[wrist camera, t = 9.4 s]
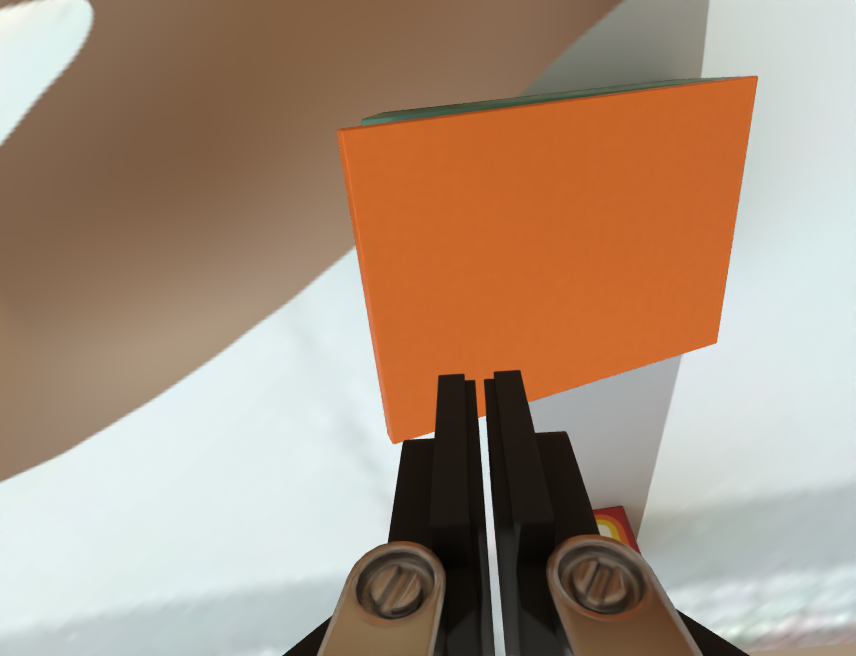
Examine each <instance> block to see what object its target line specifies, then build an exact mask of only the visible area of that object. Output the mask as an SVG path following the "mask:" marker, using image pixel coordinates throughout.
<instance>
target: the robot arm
mask: <svg viewBox="0 0 856 656" xmlns="http://www.w3.org/2000/svg"><path fill="white" fill-rule="evenodd" d="M484 392H485V407H486V422H487V437H488V452H489V467H490V482H491V495H492V506H493V517H494V529H495V540H496V551H497V563H498V574H499V585H500V597H501V608H502V619H503V631H504V642H505V653H506V656H749V655H748V654H746V653H745V652H743V651H742V650H740V649H738V648H737V647H735V646H734V645H732V644H731V643H729V642H727V641H726V640H724V639H723V638H721V637H719V636H718V635H716V634H715V633H713V632H712V631H710V630H708V629H707V628H705V627H704V626H702V625H701V624H699V623H697V622H696V621H694V620H693V619H691V618H690V617H688V616H686V615H685V614H683V613H682V612H680V611H678V610H677V609H675V607H674V606H673V604H672V602H671V601H670V599H669V597H668V595H667V594H666V592H665V590H664V589H663V587H662V585H661V584H660V582H659V580H658V579H657V577H656V575H655V574H654V572H653V570H652V569H651V567H650V566H649V565H648V563H647V562H646V561H645V560H644V558H643V557H642V556H641V555H640V554H639V553H638V552H636V551H635V550H634V549H632V548H631V547H630V546H628V545H627V544H625V543H622V542H620V541H618V540H616V539H614V538H611V537H606V536H601V535H600V532H599V529H598V526H597V522H596V519H595V516H594V513H593V510H592V507H591V504H590V501H589V498H588V495H587V492H586V489H585V486H584V483H583V479H582V476H581V473H580V470H579V467H578V464H577V461H576V458H575V455H574V452H573V449H572V446H571V443H570V439H569V437H568V434H567V433H566V432H565V431H562V432H543V433H535V431H534V427H533V423H532V418H531V414H530V410H529V405H528V401H527V397H526V392H525V388H524V384H523V379H522V375H521V371H520V370H509V371H494V379H484ZM283 656H495V647H494V633H493V619H492V604H491V590H490V575H489V561H488V547H487V532H486V518H485V504H484V489H483V476H482V463H481V449H480V436H479V422H478V409H477V396H476V382H475V380H465V374H464V373H463V374H448V375H438V389H437V405H436V422H435V438H431V439H412V440H404V442H403V445H402V451H401V458H400V464H399V471H398V478H397V484H396V491H395V498H394V504H393V511H392V518H391V524H390V531H389V538H388V543H387V544H383V545H380V546H377V547H376V548H374V549H372V550H371V551H369V552H367V553H366V554H365V555H364V556H363V557H362V558H361V559H360V560H359V561H357V562H356V563H355V565H354V567H353V568H352V570H351V572H350V574H349V575H348V577H347V580H346V582H345V585H344V587H343V590H342V593H341V595H340V598H339V600H338V603H337V605H336V608H335V611H334V613H333V615H332V616H331V617H330V618H329V619H327V620H326V621H325V622H324V623H322V624H321V625H320V626H319V627H317V628H316V629H315V630H314V631H312V632H311V633H310V634H309V635H307V636H306V637H305V638H304V639H302V640H301V641H300V642H299V643H297V644H296V645H295V646H294V647H293V648H291V649H290V650H289V651H288V652H286V653H285V654H284V655H283Z"/></svg>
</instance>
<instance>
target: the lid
mask: <svg viewBox="0 0 856 656" xmlns="http://www.w3.org/2000/svg"><path fill="white" fill-rule="evenodd" d="M757 80H758V76H746V77H736V78H728V79H720V80H713V81H705V82H697V83H690V84H682V85H674V86H666V87H659V88H651V89H643V90H636V91H628V92H620V93H612V94H605V95H597V96H589V97H581V98H574V99H566V100H558V101H551V102H543V103H535V104H527V105H520V106H512V107H504V108H496V109H489V110H481V111H473V112H466V113H458V114H450V115H442V116H435V117H427V118H419V119H412V120H404V121H396V122H388V123H381V124H373V125H365V126H358V127H350V128H342V129H338V130H337V137H338V143H339V149H340V155H341V161H342V167H343V172H344V179H345V184H346V190H347V196H348V202H349V208H350V214H351V220H352V225H353V231H354V238H355V244H356V249H357V255H358V261H359V267H360V273H361V279H362V285H363V291H364V297H365V303H366V309H367V315H368V320H369V326H370V332H371V338H372V344H373V350H374V356H375V362H376V368H377V374H378V380H379V385H380V391H381V397H382V403H383V409H384V415H385V421H386V427H387V433H388V435H389V437H390V439H391V441H392V443H393V444H397V443H400V442H403V441H404V440H410V439H413V438H416V437H419V436H422V435H425V434H429V433H432V432H435V422H436V405H437V389H438V375H448V374H463V373H464V374H465V380H475V382H476V396H477V409H478V418H480V417H483V416H486V407H485V392H484V379H494V371H509V370H520V371H521V375H522V379H523V384H524V388H525V392H526V397H527V401H528V402H531V401H534V400H537V399H540V398H543V397H547V396H550V395H553V394H556V393H559V392H562V391H566V390H569V389H572V388H575V387H578V386H582V385H585V384H588V383H591V382H594V381H598V380H601V379H604V378H607V377H610V376H613V375H617V374H620V373H623V372H626V371H629V370H633V369H636V368H639V367H642V366H645V365H648V364H652V363H655V362H658V361H661V360H664V359H668V358H671V357H674V356H677V355H680V354H684V353H687V352H690V351H693V350H696V349H699V348H703V347H706V346H709V345H712V344H715V343H717V338H718V332H719V325H720V319H721V312H722V306H723V299H724V293H725V287H726V280H727V274H728V267H729V261H730V254H731V248H732V241H733V235H734V228H735V222H736V216H737V209H738V203H739V196H740V190H741V183H742V177H743V170H744V164H745V158H746V151H747V145H748V138H749V132H750V125H751V119H752V112H753V106H754V100H755V93H756V87H757Z"/></svg>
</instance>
